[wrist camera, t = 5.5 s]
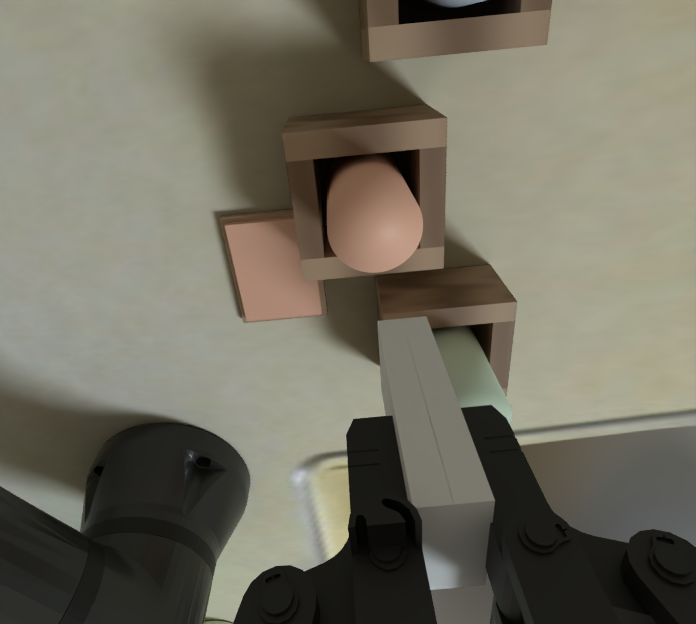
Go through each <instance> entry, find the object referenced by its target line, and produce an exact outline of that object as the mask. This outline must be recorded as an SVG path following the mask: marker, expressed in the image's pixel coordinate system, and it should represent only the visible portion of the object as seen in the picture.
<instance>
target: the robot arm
mask: <svg viewBox="0 0 696 624" xmlns="http://www.w3.org/2000/svg"><path fill="white" fill-rule="evenodd" d="M377 324H378V340H379V356H380V372H381V388H382V395H383V401H384V407H385V414H386V416H381V417H371V418H360V419H353V421H352V424H351V426H350V428H349V430H348V432H347V434H346V438H347V454H348V455H347V456H348V473H349V491H350V509H351V514H350V518H349V524H348V532H349V538H348V540H347V542H346V544H345V545H344V547H343V548H342V550H341V551H340V552H339V553H338V554H337V555H335V556H334V557H333V558H331V559H330V560H328V561H326V562H325V563H323V564H320V565H318V566H316V567H314V568H311V569H309V570H307V571H305V572H304V571H303V570H301V569H298V568H296V567H293V566H290V565H287V566H275V567H273V568H271V569H269V570H266V571H264V572H262V573H261V574H260V575H259V576H258V577H257V578H256V579H255V580H253V581H252V582H251V584H250V586H249V587H248V589H247V591H246V593H245V594H244V596H243V599H242V601H241V604H240V607H239V609H238V612H237V615H236V618H235V620H234V623H233V624H437V621H436V616H435V611H434V606H433V601H432V596H431V590H435V589H446V588H457V587H468V586H478V585H485V584H486V575H487V573H488V576H489V580H490V583H491V586H492V590H493V593H494V597H493V605H492V613H491V619H490V624H696V547H694V546H693V545H692V544H690V543H689V542H688V541H686V540H685V539H682V538H680V537H678V536H676V535H674V534H672V533H670V532H664V531H660V530H654V529H652V530H645V531H640V532H638V533H637V534H635V535H634V536H633V537H631V538H630V541H629V543H625V542H621V541H615V540H611V539H606V538H601V537H596V536H592V535H589V534H586V533H582V532H580V531H578V530H576V529H574V528H572V527H570V526H569V525H568V524H567V522H566V521H564V520H563V519H562V518H561V517H559V516H558V515H556V514H555V513H554V512H553V511H552V509H551V508H550V506H549V504H548V503H547V501H546V499H545V497H544V495H543V493H542V491H541V488H540V486H539V484H538V482H537V480H536V478H535V476H534V474H533V472H532V470H531V468H530V466H529V464H528V462H527V460H526V457H525V456H524V453H523V452H522V451H521V447H520V445H519V443H518V441H517V439H516V438H515V435H514V433H513V431H512V429H511V426H510V424H509V422H508V420H507V418H506V417H505V416H503V415H502V414H501V413H500V412H499V411H498V410H497V409H496V408H495V407H493V406H492V405H484V406H473V407H463V408H460V405H459V402H458V400H457V397H456V394H455V392H454V389H453V386H452V384H451V381H450V378H449V376H448V373H447V370H446V368H445V365H444V362H443V359H442V357H441V354H440V351H439V349H438V346H437V343H436V341H435V338H434V335H433V333H432V330H431V327H430V325H429V322H428V319H427V317H426V316H423V317H413V318H402V319H392V320H382V321H377ZM249 489H250V475H249V471H248V468H247V466H246V464H245V462H244V460H243V459H242V457H241V456H240V455H239V454H238V453H237V452H236V451H235V450H234V449H233V448H232V447H231V446H230V445H229V444H227V443H226V442H225V441H223V440H221V439H220V438H218V437H216V436H214V435H212V434H210V433H208V432H206V431H203V430H200V429H197V428H194V427H190V426H185V425H179V424H170V423H155V424H146V425H140V426H136V427H133V428H129V429H127V430H124V431H122V432H120V433H118V434H117V435H115V436H114V437H112V438H111V439H110V440H108V441H107V442H106V443H105V444H104V446H103V447H102V448H101V450H100V452H99V453H98V455H97V457H96V459H95V461H94V463H93V464H92V466H91V468H90V471H89V474H88V477H87V482H86V489H85V497H84V505H83V513H82V521H81V529H80V532H79V531H77V530H75V529H74V528H72V527H70V526H68V525H67V524H65V523H63V522H61V521H60V520H58V519H56V518H54V517H52V516H51V515H49V514H47V513H45V512H44V511H42V510H40V509H38V508H37V507H35V506H33V505H31V504H30V503H28V502H26V501H24V500H23V499H21V498H19V497H17V496H16V495H14V494H12V493H11V492H9V491H7V490H6V489H4V488H2V487H1V486H0V624H204V621H205V616H206V611H207V606H208V601H209V596H210V591H211V586H212V580H213V575H214V571H215V566H216V562H217V559H218V558H219V556H220V554H221V552H222V551H223V549H224V547H225V545H226V544H227V542H228V540H229V538H230V536H231V535H232V533H233V531H234V529H235V528H236V526H237V524H238V522H239V521H240V519H241V517H242V515H243V513H244V511H245V508H246V505H247V500H248V494H249Z"/></svg>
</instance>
